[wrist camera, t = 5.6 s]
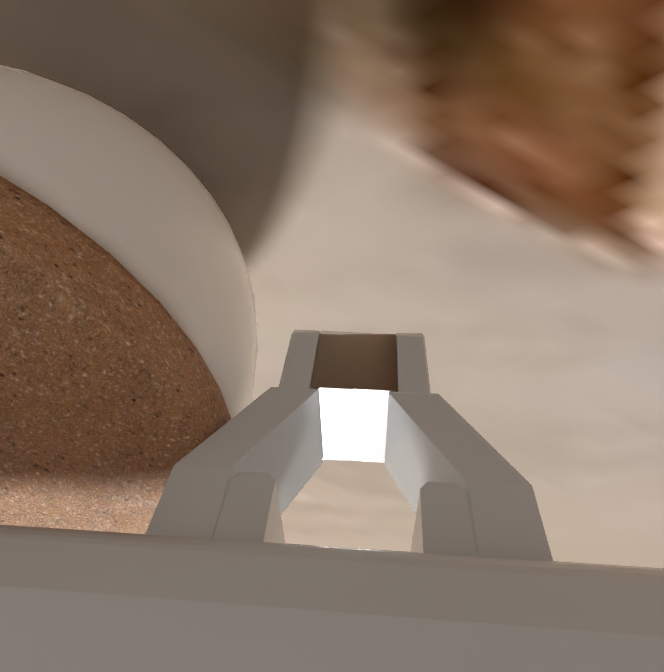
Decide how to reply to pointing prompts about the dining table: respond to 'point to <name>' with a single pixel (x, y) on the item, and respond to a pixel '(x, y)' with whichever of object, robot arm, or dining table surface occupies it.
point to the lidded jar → (108, 312)
